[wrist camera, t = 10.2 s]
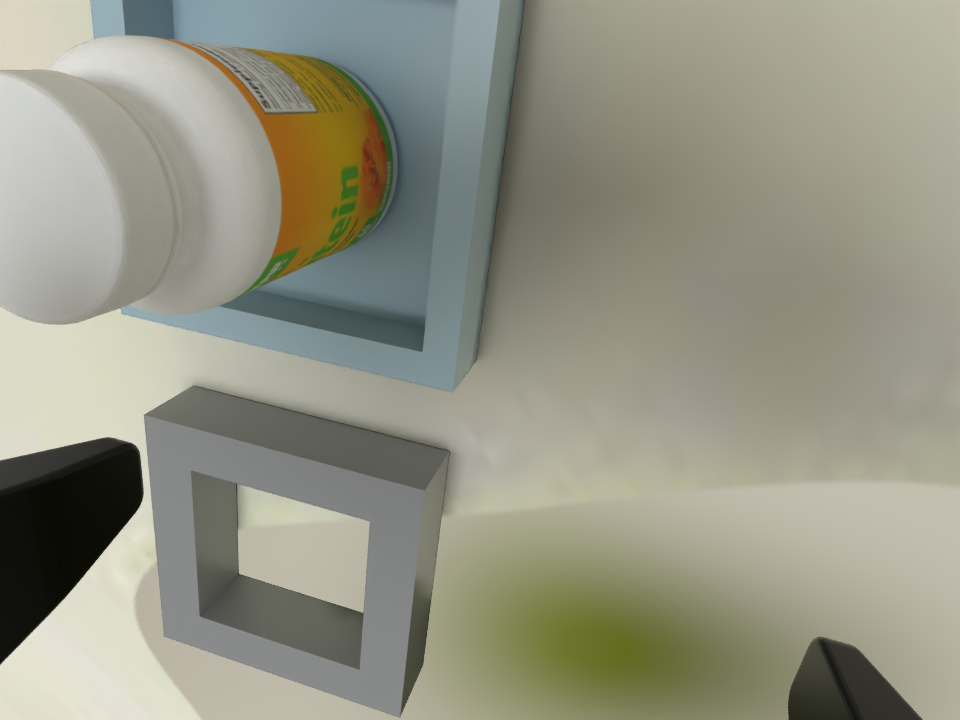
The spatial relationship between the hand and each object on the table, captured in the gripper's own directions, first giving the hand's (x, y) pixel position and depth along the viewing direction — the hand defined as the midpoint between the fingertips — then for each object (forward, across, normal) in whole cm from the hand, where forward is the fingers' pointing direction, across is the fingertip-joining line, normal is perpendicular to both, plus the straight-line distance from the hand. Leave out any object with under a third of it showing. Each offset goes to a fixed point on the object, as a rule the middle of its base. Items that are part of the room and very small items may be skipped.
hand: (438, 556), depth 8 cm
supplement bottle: (+12, +8, -3) cm, 14 cm away
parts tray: (+12, +8, -3) cm, 15 cm away
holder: (+12, +8, +11) cm, 18 cm away
